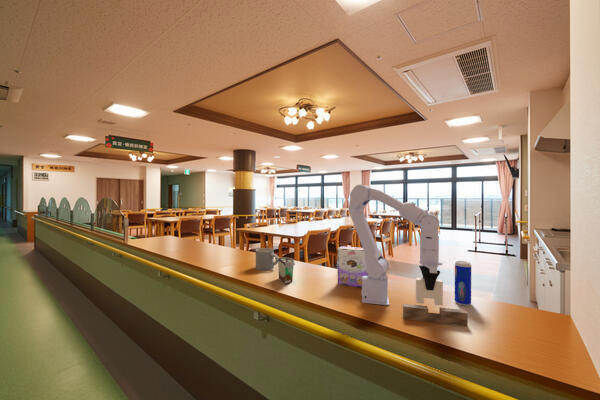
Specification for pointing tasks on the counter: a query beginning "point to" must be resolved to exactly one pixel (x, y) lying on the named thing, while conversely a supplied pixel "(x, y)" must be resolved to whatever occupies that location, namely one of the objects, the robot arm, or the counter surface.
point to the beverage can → (463, 283)
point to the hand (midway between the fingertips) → (428, 288)
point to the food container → (285, 269)
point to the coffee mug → (265, 259)
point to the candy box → (351, 266)
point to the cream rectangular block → (429, 291)
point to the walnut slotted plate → (435, 315)
